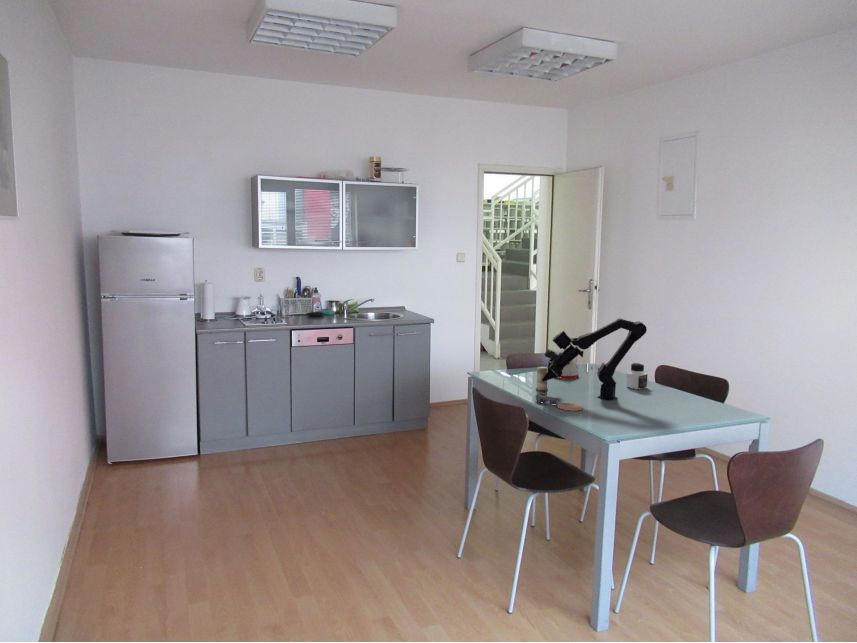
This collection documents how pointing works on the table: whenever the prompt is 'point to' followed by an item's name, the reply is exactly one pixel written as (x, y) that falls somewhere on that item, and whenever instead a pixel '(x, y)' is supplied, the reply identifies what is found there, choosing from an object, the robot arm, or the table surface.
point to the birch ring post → (541, 384)
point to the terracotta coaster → (570, 406)
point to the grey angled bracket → (545, 398)
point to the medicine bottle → (637, 377)
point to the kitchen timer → (570, 370)
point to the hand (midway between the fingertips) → (542, 378)
